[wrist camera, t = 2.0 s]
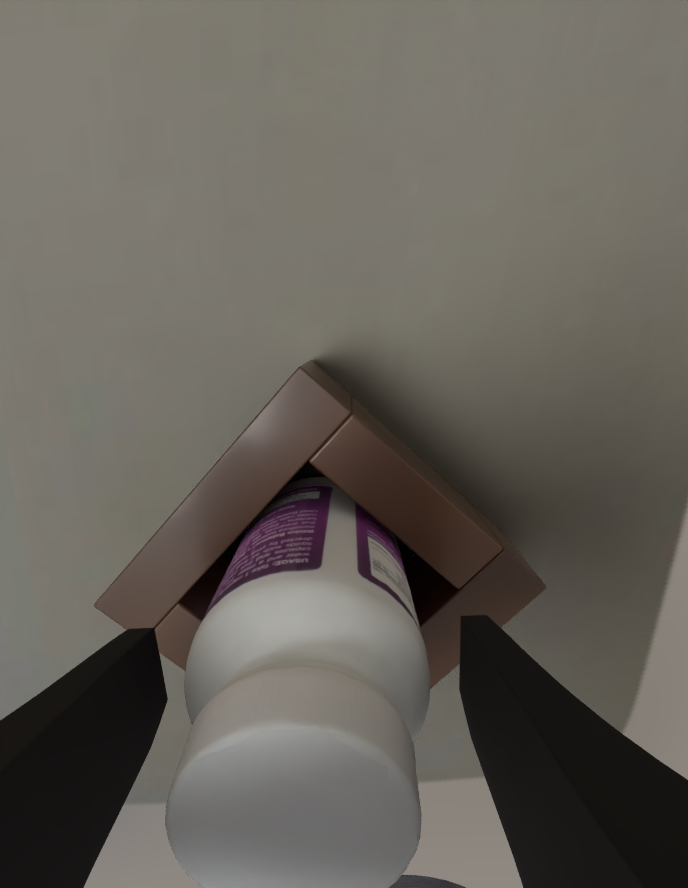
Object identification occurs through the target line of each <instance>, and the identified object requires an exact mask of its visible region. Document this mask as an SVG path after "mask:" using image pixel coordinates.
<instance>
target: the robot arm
mask: <svg viewBox="0 0 688 888" xmlns="http://www.w3.org/2000/svg"><path fill="white" fill-rule="evenodd" d="M459 690H460V694H461V698H462V702H463V707H464V711H465V715H466V719H467V723H468V727H469V731H470V735H471V738H472V741H473V744H474V747H475V750H476V753H477V756H478V758H479V761H480V764H481V767H482V770H483V773H484V776H485V778H486V781H487V784H488V786H489V789H490V792H491V795H492V798H493V801H494V803H495V806H496V809H497V812H498V815H499V818H500V820H501V823H502V826H503V828H504V832H505V834H506V837H507V840H508V842H509V846H510V848H511V851H512V854H513V857H514V859H515V863H516V866H517V869H518V872H519V875H520V878H521V881H522V884H523V888H688V780H687V779H686V778H684V777H683V776H681V775H680V774H678V773H677V772H675V771H674V770H672V769H671V768H669V767H668V766H666V765H665V764H663V763H662V762H660V761H659V760H657V759H656V758H655V757H653V756H652V755H651V754H649V753H648V752H646V751H645V750H644V749H642V748H641V747H639V746H638V745H637V744H635V743H634V742H632V741H631V740H630V739H628V738H627V737H626V736H624V735H623V734H622V733H620V732H619V731H618V730H616V729H615V728H614V727H612V726H611V725H610V724H608V723H607V722H606V721H605V720H603V719H602V718H601V717H600V716H598V715H597V714H596V713H595V712H593V711H592V710H591V709H590V708H589V707H587V706H586V705H585V704H584V703H582V702H581V701H580V700H579V699H577V698H576V697H575V696H574V695H573V694H571V693H570V692H569V691H568V690H567V689H566V688H564V687H563V686H562V685H561V684H560V683H559V682H558V681H557V680H555V679H554V678H553V677H552V676H551V675H550V674H549V673H548V672H547V671H545V670H544V669H543V668H542V667H541V666H540V665H539V664H538V663H537V662H536V661H535V660H534V659H532V658H531V657H530V656H529V655H528V654H527V653H526V652H525V651H524V650H523V649H522V648H521V647H520V646H519V645H518V644H517V643H516V642H515V641H514V640H513V639H512V638H511V637H510V636H508V635H507V634H506V633H505V632H504V631H503V630H502V629H501V628H500V627H499V626H498V625H497V624H496V623H495V622H494V621H493V620H492V619H491V618H490V617H489V616H488V615H469V616H461V622H460V687H459ZM167 700H168V699H167V693H166V688H165V682H164V677H163V671H162V666H161V660H160V655H159V650H158V644H157V639H156V633H155V628H135V629H128V630H126V631H125V632H123V633H122V634H120V635H119V636H117V637H116V638H115V639H113V640H112V641H110V642H109V643H108V644H106V645H105V646H103V647H102V648H101V649H99V650H98V651H97V652H95V653H94V654H93V655H91V656H90V657H88V658H87V659H86V660H84V661H83V662H82V663H80V664H79V665H78V666H76V667H75V668H74V669H72V670H71V671H70V672H68V673H67V674H65V675H64V676H63V677H61V678H60V679H59V680H57V681H56V682H55V683H53V684H52V685H50V686H49V687H48V688H46V689H45V690H44V691H42V692H41V693H40V694H38V695H37V696H35V697H34V698H32V699H31V700H29V701H28V702H27V703H25V704H24V705H22V706H21V707H19V708H18V709H16V710H15V711H14V712H12V713H11V714H9V715H8V716H6V717H5V718H3V719H2V720H1V721H0V888H84V885H85V883H86V881H87V879H88V876H89V874H90V872H91V870H92V868H93V866H94V864H95V861H96V859H97V857H98V855H99V853H100V851H101V849H102V847H103V845H104V843H105V841H106V839H107V837H108V835H109V833H110V831H111V829H112V827H113V825H114V823H115V821H116V819H117V816H118V815H119V812H120V810H121V808H122V806H123V804H124V802H125V800H126V798H127V796H128V794H129V792H130V790H131V788H132V786H133V784H134V782H135V780H136V778H137V775H138V773H139V771H140V769H141V767H142V765H143V763H144V761H145V759H146V757H147V754H148V752H149V750H150V748H151V746H152V743H153V740H154V737H155V735H156V732H157V729H158V727H159V724H160V721H161V718H162V715H163V712H164V709H165V706H166V703H167Z"/></svg>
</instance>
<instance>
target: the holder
mask: <svg viewBox="0 0 688 888" xmlns="http://www.w3.org/2000/svg"><path fill="white" fill-rule="evenodd" d="M308 460H309V462H310V463H311V464H312V465H313V466H314V467H315V468H316V469H318V470H319V471H320V472H321V473H322V474H323V475H325V476H326V477H327V478H328V479H329V480H330V481H332V482H333V483H334V484H335V485H336V486H337V487H339V488H340V489H341V490H342V491H343V492H344V493H346V494H347V495H348V496H349V497H350V498H352V499H353V500H354V501H355V502H356V503H357V504H359V505H360V506H361V507H362V508H363V509H364V510H366V511H367V512H368V513H369V514H370V515H371V516H373V517H374V518H375V519H376V520H377V521H378V522H380V523H381V524H382V525H383V526H384V527H385V528H387V529H388V530H389V531H390V532H391V533H392V534H394V535H395V536H396V537H397V538H398V539H399V540H401V541H402V542H403V543H404V544H405V545H407V546H408V547H409V548H410V549H411V550H412V551H414V552H415V553H416V554H417V556H416V557H415V558H414V559H413V560H412V561H411V562H410V563H409V564H408V565H407V566H405V567H404V570H405V573H406V577H407V581H408V585H409V588H410V591H411V596H412V600H413V604H414V608H415V612H416V615H417V619H418V622H419V627H420V631H421V634H422V637H423V640H424V643H425V647H426V651H427V659H428V664H429V671H430V689H431V688H432V687H433V686H434V685H435V684H437V683H438V682H439V681H440V680H441V679H442V678H444V677H445V676H446V675H447V674H448V673H449V672H450V671H452V670H453V669H454V668H455V667H456V666H457V665H458V664H460V622H461V616H469V615H488V616H489V617H490V618H491V619H492V620H493V621H494V622H495V623H496V624H497V625H498V626H499V627H500V628H501V627H502V626H503V625H504V624H506V623H507V622H508V621H509V620H510V619H511V618H513V617H514V616H515V615H516V614H517V613H518V612H519V611H521V610H522V609H523V608H524V607H525V606H526V605H527V604H529V603H530V602H531V601H532V600H533V599H534V598H536V597H537V596H538V595H539V594H540V593H541V592H542V591H544V590H545V589H546V585H545V584H544V583H543V582H542V580H541V579H540V578H539V577H538V575H537V574H536V573H535V572H534V570H533V569H532V568H531V567H530V565H529V564H528V563H527V562H526V560H525V559H524V558H523V557H522V555H521V554H520V553H519V551H518V550H517V549H516V548H515V546H514V545H513V544H512V543H511V541H510V540H509V539H508V538H507V536H506V535H505V534H504V533H503V532H502V531H501V530H500V529H499V528H497V527H496V526H495V525H494V524H493V523H492V522H491V521H490V520H489V519H487V518H486V517H485V516H484V515H483V514H482V513H481V512H480V511H479V510H478V509H476V508H475V507H474V506H473V505H472V504H470V502H469V501H467V500H466V499H465V498H464V497H463V496H462V495H461V494H460V493H459V492H457V491H456V490H455V489H454V488H453V487H452V486H451V485H450V484H449V483H448V482H446V481H445V480H444V479H443V478H442V477H441V476H440V475H439V474H438V473H436V472H435V471H434V470H433V469H432V468H431V467H430V466H429V465H428V464H427V463H425V462H424V461H423V460H422V459H421V458H420V457H419V456H418V455H417V454H415V453H414V452H413V451H412V450H411V449H410V448H409V447H408V446H407V445H405V444H404V443H403V442H402V441H401V440H400V439H399V438H398V437H397V436H396V435H394V434H393V433H392V432H391V431H390V430H389V429H388V428H387V427H386V426H384V425H383V424H382V423H381V422H380V421H379V420H378V419H377V418H376V417H375V416H373V415H372V414H371V413H370V412H369V411H368V410H367V409H366V408H365V407H363V406H362V405H361V404H360V403H359V402H358V401H357V400H356V399H355V398H353V397H351V395H350V394H349V393H348V392H347V391H346V390H345V389H344V388H343V387H341V386H340V385H339V384H338V383H337V382H336V381H335V380H334V379H333V378H332V377H330V376H329V375H328V374H327V373H326V372H325V371H324V370H323V369H322V368H320V367H319V366H318V365H317V364H316V363H315V362H314V361H313V360H310V361H309V362H307V363H305V364H303V365H302V366H300V367H298V369H297V370H296V371H295V372H294V373H293V374H292V376H291V377H290V378H289V379H288V380H287V381H286V383H285V384H284V385H283V386H282V387H281V388H280V389H279V391H278V392H277V393H276V394H275V395H274V396H273V398H272V399H271V400H270V401H269V402H268V403H267V405H266V406H265V407H264V408H263V409H262V410H261V411H260V413H259V414H258V415H257V416H256V417H255V418H254V420H253V421H252V422H251V423H250V424H249V425H248V427H247V428H246V429H245V430H244V431H243V432H242V434H241V435H240V436H239V437H238V438H237V439H236V440H235V442H234V443H233V444H232V445H231V446H230V447H229V449H228V450H227V451H226V452H225V453H224V454H223V456H222V457H221V458H220V459H219V460H218V461H217V462H216V464H215V465H214V466H213V467H212V468H211V469H210V471H209V472H208V473H207V474H206V475H205V476H204V478H203V479H202V480H201V481H200V482H199V483H198V484H197V486H196V487H195V488H194V489H193V490H192V491H191V493H190V494H189V495H188V496H187V497H186V498H185V500H184V501H183V502H182V503H181V504H180V505H179V506H178V508H177V509H176V510H175V511H174V512H173V513H172V515H171V516H170V517H169V518H168V519H167V520H166V522H165V523H164V524H163V525H162V526H161V527H160V528H159V530H158V531H157V532H156V533H155V534H154V535H153V537H152V538H151V539H150V540H149V541H148V542H147V544H146V545H145V546H144V547H143V548H142V549H141V550H140V552H139V553H138V554H137V555H136V556H135V557H134V559H133V560H132V561H131V562H130V563H129V564H128V566H127V567H126V568H125V569H124V570H123V571H122V572H121V574H120V575H119V576H118V577H117V578H116V579H115V581H114V582H113V583H112V584H111V585H110V586H109V588H108V589H107V590H106V591H105V592H104V593H103V594H102V596H101V597H100V598H99V599H98V600H97V601H96V603H95V604H94V607H96V608H97V609H99V610H100V611H101V612H103V613H104V614H106V615H107V616H108V617H110V618H111V619H113V620H114V621H115V622H117V623H118V624H120V625H121V626H122V627H124V628H125V629H127V630H128V629H135V628H155V633H156V639H157V644H158V650H159V653H161V654H162V655H164V656H165V657H166V658H168V659H169V660H171V661H172V662H173V663H175V664H176V665H178V666H179V667H180V668H182V669H183V670H185V671H186V664H187V659H188V655H189V651H190V648H191V645H192V642H193V639H194V636H195V634H196V632H197V630H198V628H199V625H200V623H201V622H202V620H203V618H204V616H205V614H206V612H207V610H208V608H209V606H210V603H211V601H212V599H213V597H214V595H215V593H216V591H217V589H218V587H219V585H220V583H221V581H222V579H223V577H224V575H225V573H226V571H227V569H228V567H229V565H230V563H231V560H229V559H228V558H227V557H225V556H224V555H223V553H224V552H225V551H226V549H227V548H228V547H229V546H230V545H231V544H232V543H233V542H234V541H235V540H236V539H237V537H238V536H239V535H240V534H241V533H242V532H243V531H244V530H245V529H246V528H247V527H248V525H249V524H250V523H251V522H252V521H253V520H254V519H255V518H256V517H257V516H258V515H259V513H260V512H261V511H262V510H263V509H264V508H265V507H266V506H267V505H268V504H269V503H270V501H271V500H272V499H273V498H274V497H275V496H276V495H277V494H278V493H279V492H280V491H281V489H282V488H283V487H284V486H285V485H286V484H287V483H288V482H289V481H290V480H291V479H292V478H293V476H294V475H295V474H296V473H297V472H298V471H299V470H300V469H301V468H302V467H303V466H304V464H305V463H306V462H307V461H308Z"/></svg>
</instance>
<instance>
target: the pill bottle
mask: <svg viewBox="0 0 688 888" xmlns="http://www.w3.org/2000/svg"><path fill="white" fill-rule="evenodd" d="M429 697H430V671H429V664H428V659H427V651H426V647H425V643H424V640H423V637H422V634H421V631H420V627H419V622H418V619H417V615H416V612H415V608H414V604H413V600H412V596H411V591H410V588H409V585H408V581H407V577H406V573H405V570H404V566H403V562H402V558H401V554H400V550H399V546H398V542H397V538H396V536H395V535H394V534H392V533H391V532H390V531H389V530H388V529H387V528H385V527H384V526H383V525H382V524H381V523H380V522H378V521H377V520H376V519H375V518H374V517H373V516H371V515H370V514H369V513H368V512H367V511H366V510H364V509H363V508H362V507H361V506H360V505H359V504H357V503H356V502H355V501H354V500H353V499H352V498H350V497H349V496H348V495H347V494H346V493H344V492H343V491H342V490H341V489H340V488H339V487H337V486H336V485H335V484H334V483H333V482H332V481H330V480H329V479H328V478H327V477H310V478H304V479H299V480H297V481H294V482H291V483H289V484H287V485H285V486H284V487H283V488H282V489H281V491H280V492H279V493H278V494H277V495H276V496H275V497H274V498H273V499H272V500H271V501H270V503H269V504H268V505H267V506H266V507H265V508H264V509H263V510H262V511H261V512H260V513H259V515H258V516H257V517H256V518H255V519H254V520H253V521H252V522H251V524H250V526H249V528H248V530H247V531H246V533H245V535H244V538H243V540H242V541H241V543H240V545H239V547H238V549H237V551H236V553H235V555H234V557H233V559H232V561H231V563H230V565H229V567H228V569H227V571H226V573H225V575H224V577H223V579H222V581H221V583H220V585H219V587H218V589H217V591H216V593H215V595H214V597H213V599H212V601H211V603H210V606H209V608H208V610H207V612H206V614H205V616H204V618H203V620H202V622H201V623H200V625H199V628H198V630H197V632H196V634H195V636H194V639H193V642H192V645H191V648H190V651H189V655H188V659H187V664H186V671H185V699H186V705H187V709H188V713H189V717H190V720H191V723H192V727H191V730H190V732H189V735H188V738H187V741H186V744H185V747H184V750H183V753H182V756H181V759H180V762H179V765H178V768H177V771H176V775H175V778H174V781H173V784H172V787H171V790H170V793H169V797H168V802H167V806H166V816H165V821H166V822H165V825H166V830H167V835H168V840H169V843H170V846H171V848H172V850H173V852H174V854H175V856H176V858H177V860H178V862H179V863H180V865H181V866H182V868H183V869H184V870H185V872H186V873H187V874H188V876H190V877H191V878H192V879H193V880H194V881H195V882H196V883H197V884H198V885H199V886H200V887H201V888H389V887H390V886H391V885H392V884H393V883H395V882H396V881H397V880H398V878H399V877H400V876H401V875H402V873H404V871H405V870H406V869H407V867H408V865H409V863H410V861H411V859H412V858H413V856H414V854H415V852H416V850H417V846H418V843H419V839H420V831H421V807H420V800H419V792H418V783H417V775H416V765H415V752H414V745H413V743H414V741H415V740H416V738H417V736H418V734H419V732H420V730H421V727H422V725H423V722H424V719H425V716H426V712H427V709H428V704H429Z"/></svg>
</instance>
